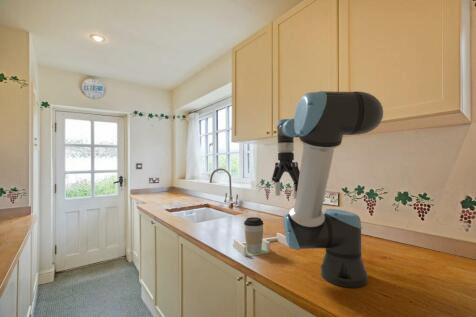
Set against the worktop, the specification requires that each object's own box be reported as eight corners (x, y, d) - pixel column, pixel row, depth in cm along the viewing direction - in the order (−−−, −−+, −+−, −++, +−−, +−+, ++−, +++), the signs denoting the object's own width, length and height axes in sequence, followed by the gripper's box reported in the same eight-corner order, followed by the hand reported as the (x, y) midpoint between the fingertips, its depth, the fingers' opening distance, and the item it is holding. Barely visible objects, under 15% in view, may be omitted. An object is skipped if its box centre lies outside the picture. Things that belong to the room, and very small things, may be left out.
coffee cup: (240, 252, 107) (240, 219, 108) (249, 246, 115) (248, 215, 116) (259, 256, 103) (258, 221, 103) (266, 249, 111) (266, 216, 111)
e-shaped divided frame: (291, 247, 114) (291, 239, 114) (244, 256, 104) (244, 247, 104) (276, 239, 126) (276, 231, 126) (232, 246, 116) (232, 238, 116)
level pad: (268, 252, 107) (268, 252, 107) (247, 256, 103) (247, 256, 103) (258, 245, 117) (258, 245, 117) (238, 249, 112) (238, 248, 112)
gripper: (310, 150, 104) (311, 199, 104) (276, 153, 127) (277, 193, 126) (297, 150, 101) (298, 200, 100) (264, 153, 123) (265, 194, 123)
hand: (286, 196), depth 113 cm, fingers open, 13 cm apart
